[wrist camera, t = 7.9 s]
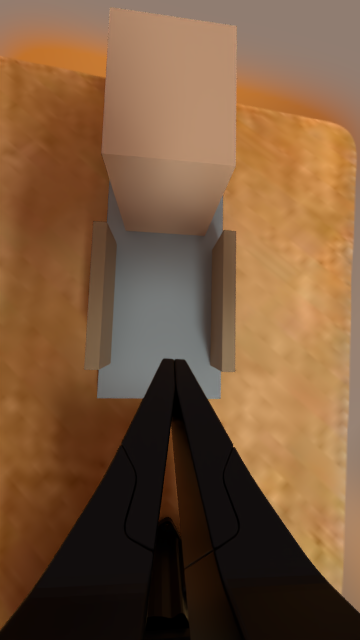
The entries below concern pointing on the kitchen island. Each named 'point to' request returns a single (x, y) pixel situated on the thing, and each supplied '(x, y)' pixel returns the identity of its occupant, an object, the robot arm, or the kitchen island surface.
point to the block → (169, 119)
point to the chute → (159, 304)
